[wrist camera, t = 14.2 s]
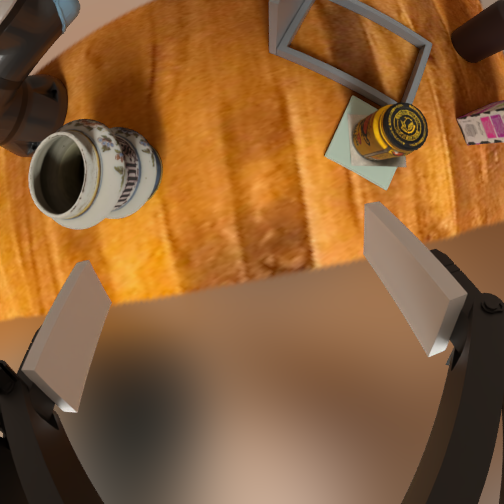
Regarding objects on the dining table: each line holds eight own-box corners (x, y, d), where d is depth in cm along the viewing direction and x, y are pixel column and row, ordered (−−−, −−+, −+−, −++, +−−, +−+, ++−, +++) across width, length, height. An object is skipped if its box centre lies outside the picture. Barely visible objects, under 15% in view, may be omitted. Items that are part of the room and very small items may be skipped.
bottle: (447, 46, 32) (515, 2, 13) (454, 24, 30) (515, -20, 11) (475, 70, 32) (549, 40, 13) (481, 47, 31) (548, 15, 11)
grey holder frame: (269, 52, 35) (268, 1, 22) (310, -17, 31) (321, -71, 18) (401, 118, 36) (451, 98, 23) (428, 43, 32) (471, 10, 19)
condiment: (346, 114, 36) (375, 90, 25) (401, 118, 36) (443, 100, 24) (350, 165, 38) (382, 160, 26) (405, 167, 37) (450, 165, 26)
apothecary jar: (88, 193, 41) (6, 205, 24) (118, 121, 39) (41, 98, 21) (149, 227, 42) (80, 258, 25) (184, 151, 39) (126, 134, 22)
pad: (324, 156, 38) (324, 155, 38) (351, 96, 36) (352, 95, 36) (385, 190, 39) (386, 190, 38) (409, 131, 37) (411, 130, 36)
